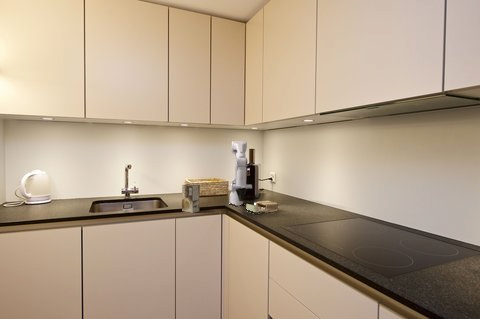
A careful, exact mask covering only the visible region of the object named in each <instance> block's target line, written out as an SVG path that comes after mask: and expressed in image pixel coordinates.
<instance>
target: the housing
mask: <svg viewBox="0 0 480 319" xmlns="http://www.w3.org/2000/svg"><path fill="white" fill-rule="evenodd" d="M256 202H257V204H256V206H260V207H266V211H270V210H276V209H279V208H278V207H279V205H278V204H279V203H277V202H274V201H272V200H271V201H270V200H261V201H256Z"/></svg>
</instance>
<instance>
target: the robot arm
mask: <svg viewBox="0 0 480 319" xmlns="http://www.w3.org/2000/svg"><path fill="white" fill-rule="evenodd" d="M247 144H248V141H246V140H244V141H243V140H240V141H239V140H232V141H231V153H232V154H234V159H235V160H234V161H235V162H234V164H235V166H234V178H232V179H231V181H230V186H229V190H230V193H229V204H230V203H232V204H235V205H241V204H243V203H244V199H245V195H246V193H247V192H248V190H247V189H253V185H252V184H247V167H248V164H249V163H248V160H249V159H248V157H247V156H246V155H247V154H246V152H247V148H248V145H247Z"/></svg>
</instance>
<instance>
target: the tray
mask: <svg viewBox="0 0 480 319" xmlns="http://www.w3.org/2000/svg"><path fill="white" fill-rule="evenodd" d="M245 206H246V207H245V208H246V209H247V210H250V211H253V212H259V211H266V208H263V207H261V209H259V210H258V207H257V206H254V204H249V203H246V204H245Z"/></svg>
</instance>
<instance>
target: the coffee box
mask: <svg viewBox="0 0 480 319" xmlns="http://www.w3.org/2000/svg"><path fill="white" fill-rule="evenodd" d="M181 187H182V188H181V191H182V192H181V210H182V212H185V213H186V212H187V213H190V214H191V213H192V214H193V213H197V212H200V196H201V195H200V184H194V183H193V184H192V183H188V184H187V183H186V184H182V185H181Z"/></svg>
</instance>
